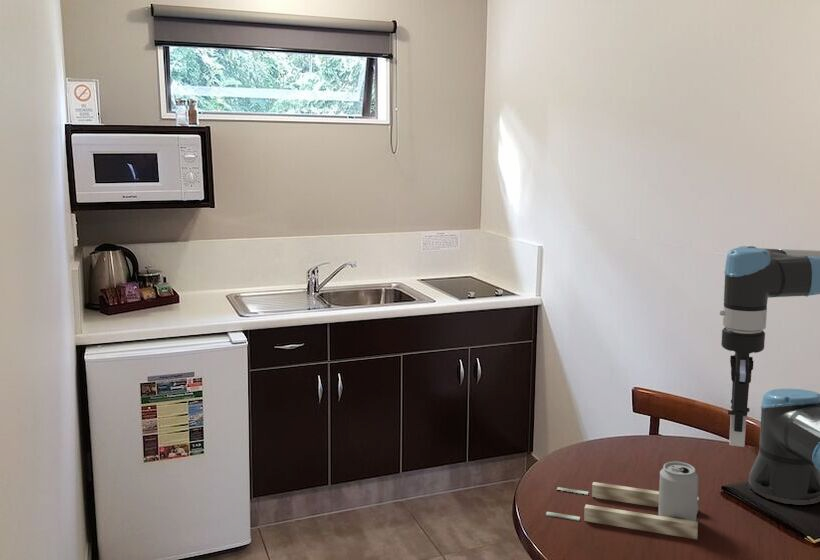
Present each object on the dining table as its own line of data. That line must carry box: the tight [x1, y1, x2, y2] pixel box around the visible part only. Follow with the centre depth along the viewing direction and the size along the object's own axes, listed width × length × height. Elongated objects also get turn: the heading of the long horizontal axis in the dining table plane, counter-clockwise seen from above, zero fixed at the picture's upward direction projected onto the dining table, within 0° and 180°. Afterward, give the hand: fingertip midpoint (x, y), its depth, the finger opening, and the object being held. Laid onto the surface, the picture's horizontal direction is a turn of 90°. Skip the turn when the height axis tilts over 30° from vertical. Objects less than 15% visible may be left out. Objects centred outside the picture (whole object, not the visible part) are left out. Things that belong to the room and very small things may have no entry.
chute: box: [545, 481, 700, 540], centre depth 155 cm, size 30×13×3 cm, turn 68°
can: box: [657, 461, 699, 522], centre depth 150 cm, size 8×8×12 cm
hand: (736, 444), depth 144 cm, fingers closed
